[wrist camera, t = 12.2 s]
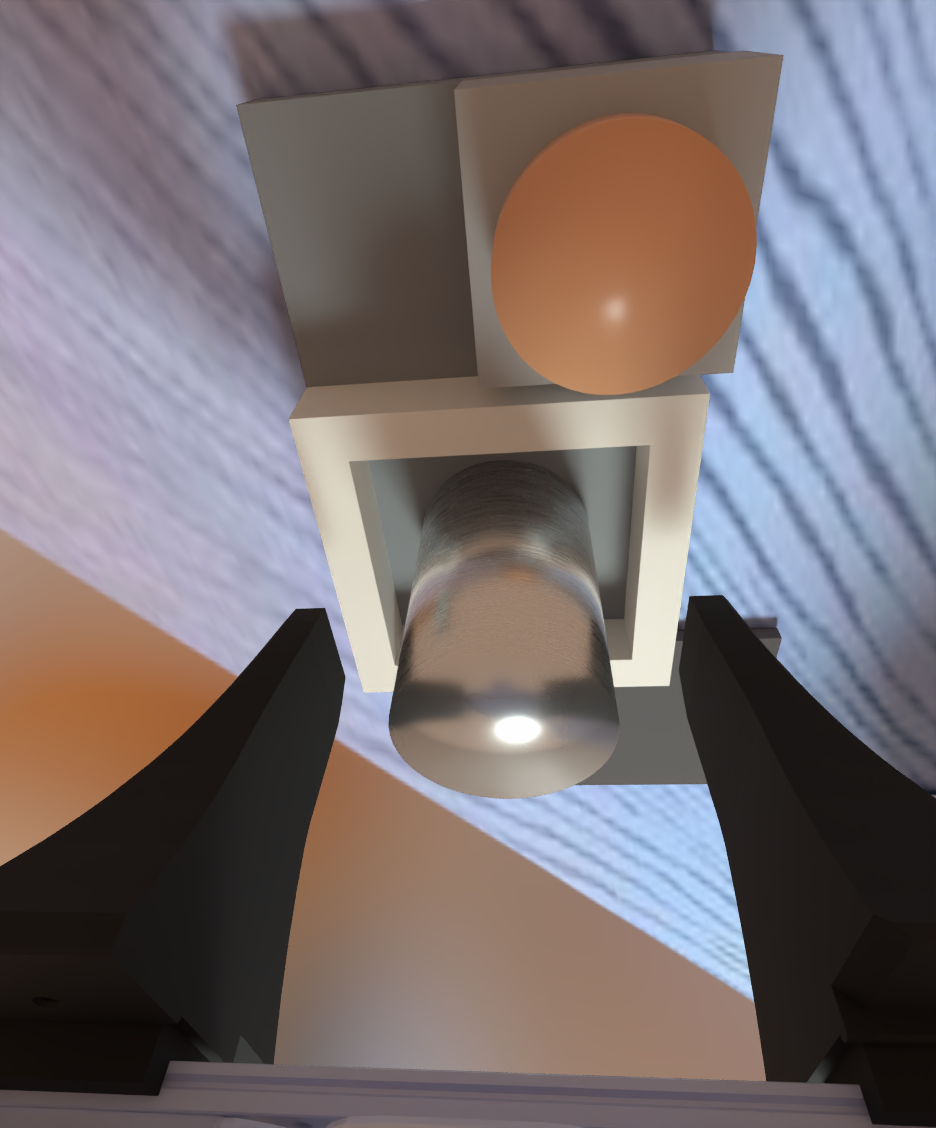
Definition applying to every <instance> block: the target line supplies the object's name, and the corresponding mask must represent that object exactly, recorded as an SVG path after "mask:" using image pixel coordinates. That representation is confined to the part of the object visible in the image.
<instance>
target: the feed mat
mask: <svg viewBox="0 0 936 1128" xmlns="http://www.w3.org/2000/svg"><path fill="white" fill-rule="evenodd" d="M751 630H752V631H753V632H754V633H755V634H756V636H757V637H758V638H759V639H760V640H761V641H762V643H763V644H764V645H765V646H766V647H767V648H768V650H769V651H770V652H771V653H772V654H773V655H774V656H775V657H777V653H778V650H779V646H780V642H781V639H782V638H781V636H780V633H779V631H778V629H777V628H768V629H751ZM683 637H684V631H677V634H676V642H675V649H674V656H673V663H672V670H671V677H670V685H669V686H640V687H614V690H615V696H616V703H617V709H618V715H619V723H620V733H619V738H618V742H617V745H616V747H615V750H614V751H613V753H612V755H611V756H610V758H609V759H608V760H607V761H606V763H605V764H604V765H603V766H602V767H601V768H600V769H599V770H597V771H596V772H595V773H594V774H592V775H591V776H589V777H588V778H586V779H585V780H583V781H581V782H579V783H577V784H575V785H642V784H707V781H706V778H705V775H704V771H703V768H702V765H701V762H700V758H699V755H698V752H697V749H696V745H695V742H694V739H693V736H692V732H691V729H690V726H689V722H688V719H687V714H686V709H685V704H684V698H683V693H682V687H681V681H680V675H679V664H680V658H681V651H682V644H683Z"/></svg>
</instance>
